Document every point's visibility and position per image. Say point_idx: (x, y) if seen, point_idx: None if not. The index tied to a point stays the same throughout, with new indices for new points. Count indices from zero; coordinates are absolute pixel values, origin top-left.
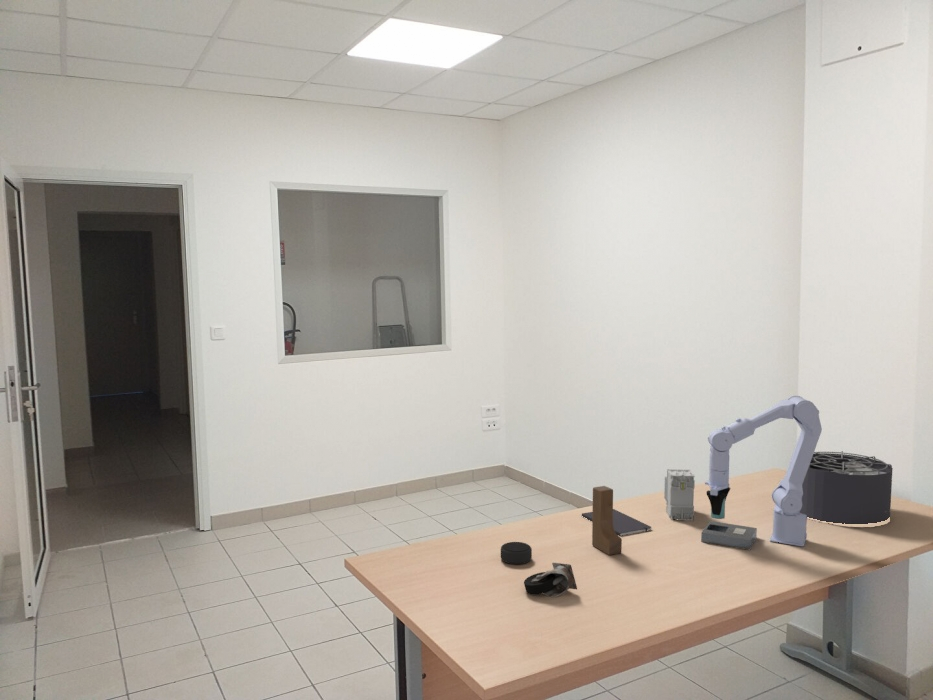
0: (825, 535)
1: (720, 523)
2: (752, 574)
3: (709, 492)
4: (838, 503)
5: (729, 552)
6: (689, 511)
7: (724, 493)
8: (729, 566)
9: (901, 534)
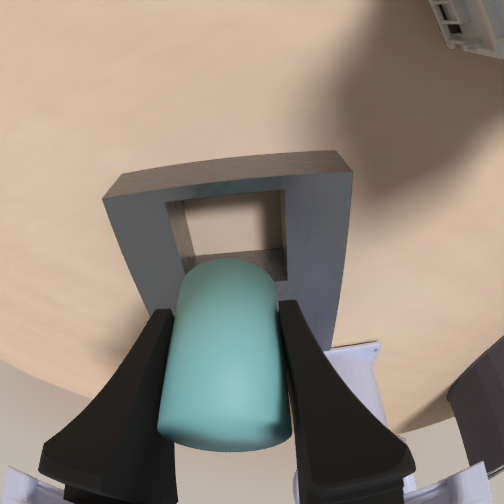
0: (397, 391)
1: (329, 234)
2: (41, 348)
3: (56, 479)
4: (471, 418)
5: (105, 292)
6: (480, 29)
7: (299, 470)
8: (26, 309)
9: (421, 421)
